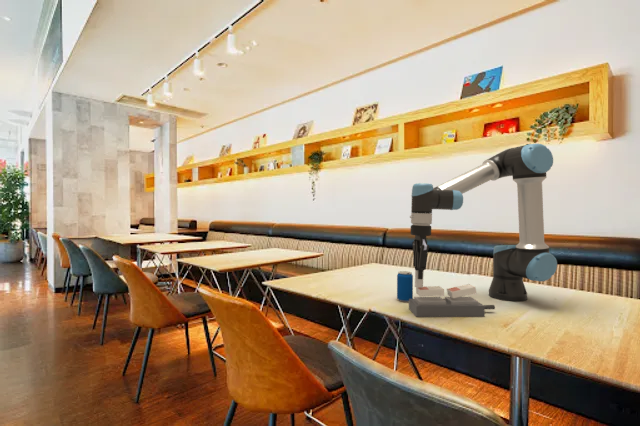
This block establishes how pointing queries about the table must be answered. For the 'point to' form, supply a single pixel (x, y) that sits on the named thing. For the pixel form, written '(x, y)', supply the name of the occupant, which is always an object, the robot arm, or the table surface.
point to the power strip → (447, 307)
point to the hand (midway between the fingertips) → (418, 287)
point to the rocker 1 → (430, 291)
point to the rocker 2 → (461, 291)
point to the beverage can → (404, 286)
